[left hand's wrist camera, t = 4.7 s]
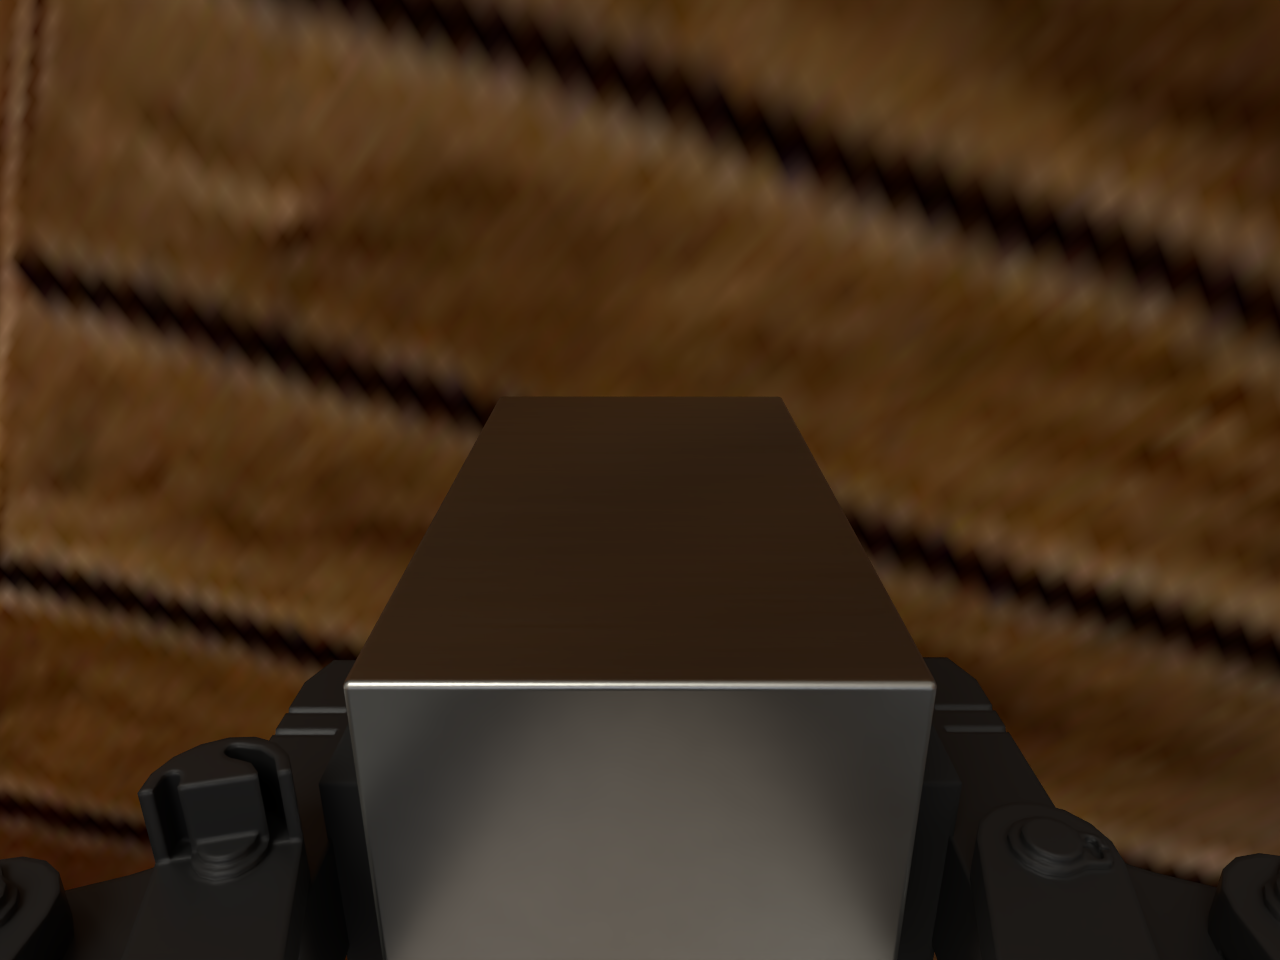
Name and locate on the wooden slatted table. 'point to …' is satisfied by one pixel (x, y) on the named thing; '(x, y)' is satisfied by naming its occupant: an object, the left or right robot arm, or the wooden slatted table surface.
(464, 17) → the wooden slatted table surface
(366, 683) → the bar
